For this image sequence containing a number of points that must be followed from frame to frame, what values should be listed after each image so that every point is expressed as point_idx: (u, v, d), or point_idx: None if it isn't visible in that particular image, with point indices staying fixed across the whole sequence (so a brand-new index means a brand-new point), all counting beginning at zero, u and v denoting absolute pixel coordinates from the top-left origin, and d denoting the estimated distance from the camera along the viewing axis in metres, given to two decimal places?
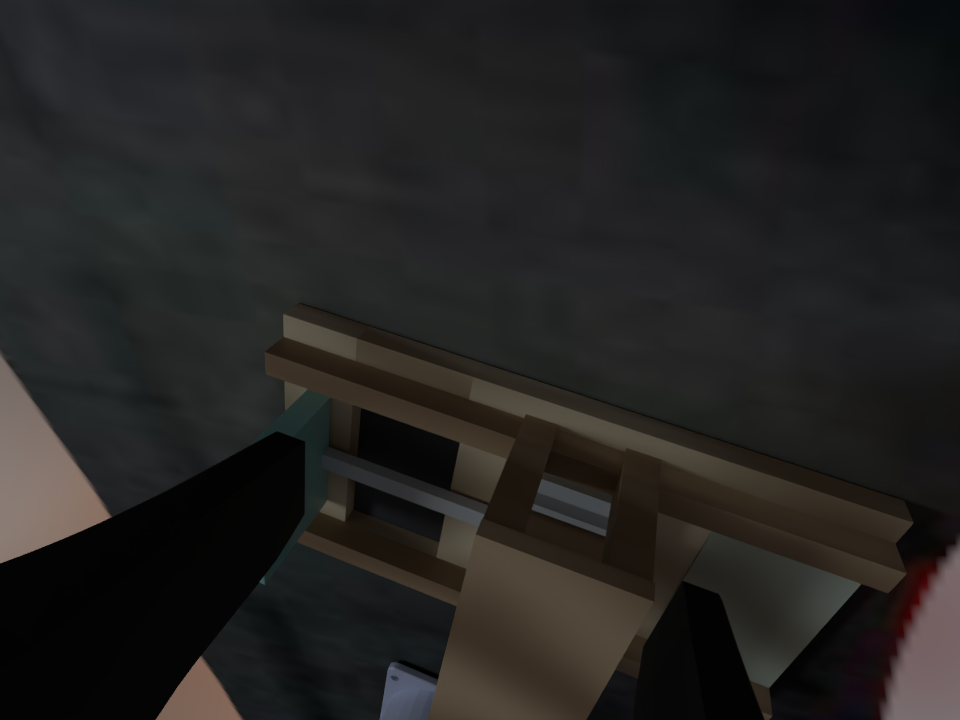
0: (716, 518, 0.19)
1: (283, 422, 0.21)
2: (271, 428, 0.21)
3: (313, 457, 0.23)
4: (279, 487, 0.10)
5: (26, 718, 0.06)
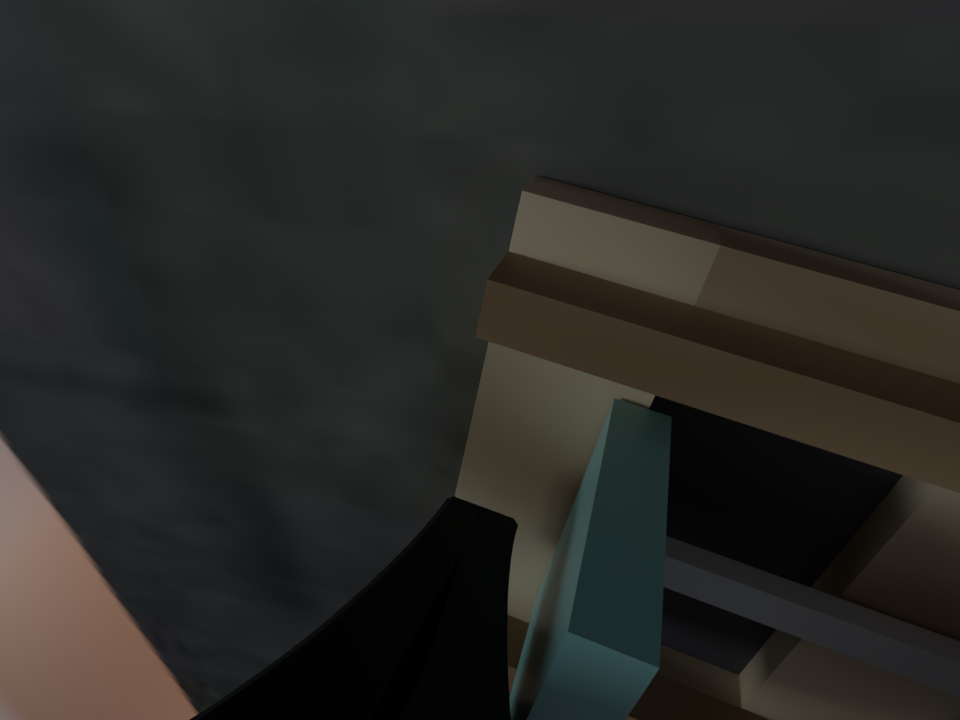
0: None
1: (619, 486, 0.08)
2: (601, 503, 0.08)
3: None
4: None
5: None
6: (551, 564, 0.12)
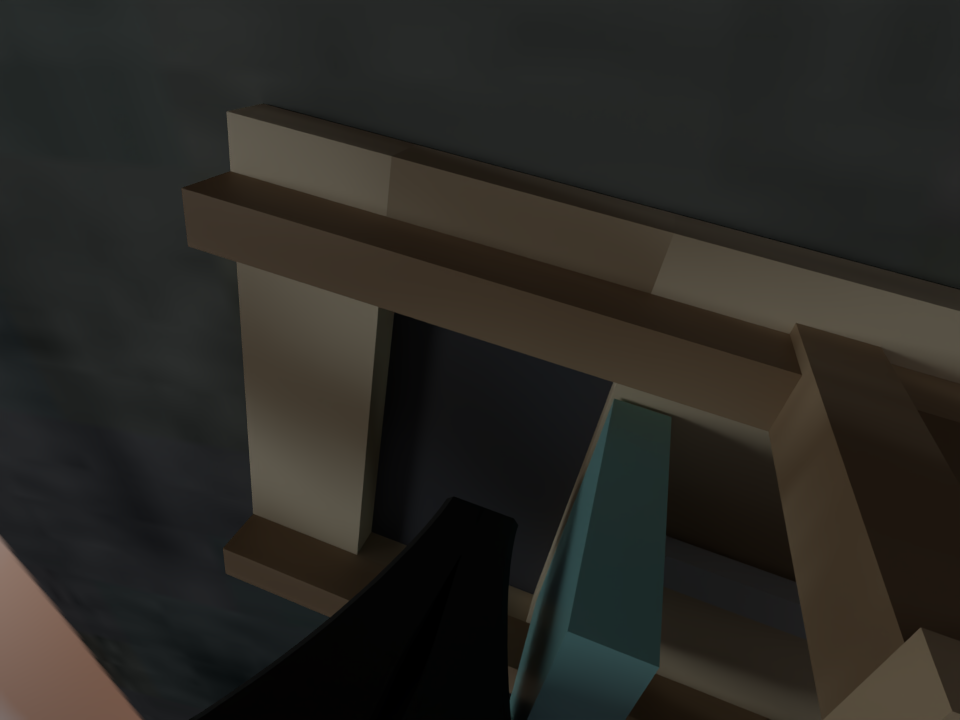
0: None
1: (618, 486, 0.08)
2: (602, 504, 0.08)
3: None
4: None
5: None
6: (552, 564, 0.12)
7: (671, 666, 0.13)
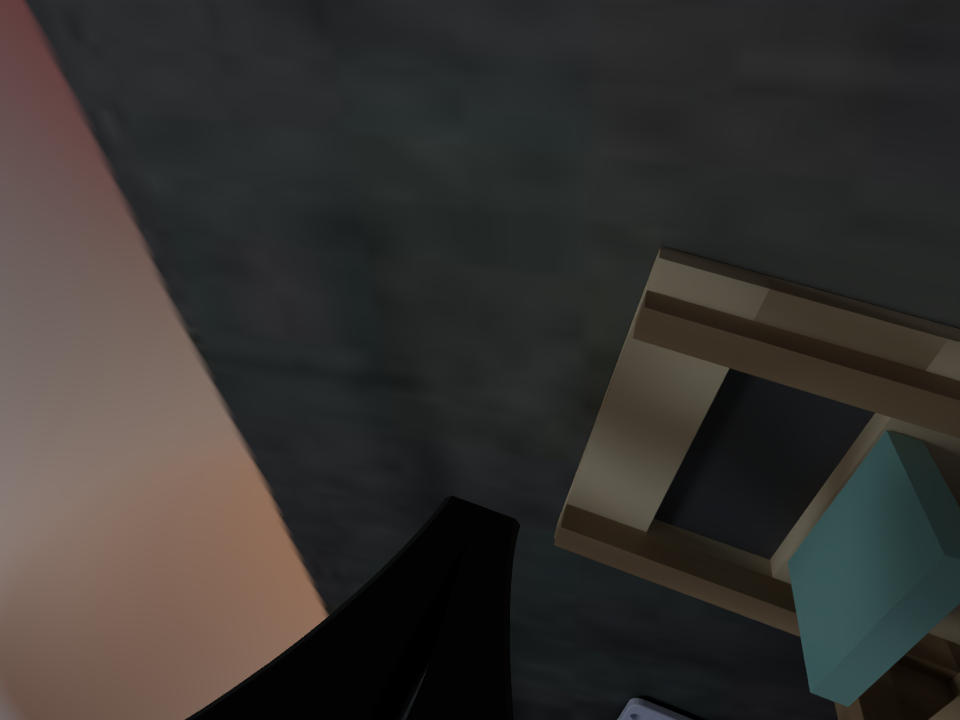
0: None
1: (922, 483, 0.15)
2: (919, 492, 0.14)
3: None
4: None
5: None
6: (817, 535, 0.18)
7: None
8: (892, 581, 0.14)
